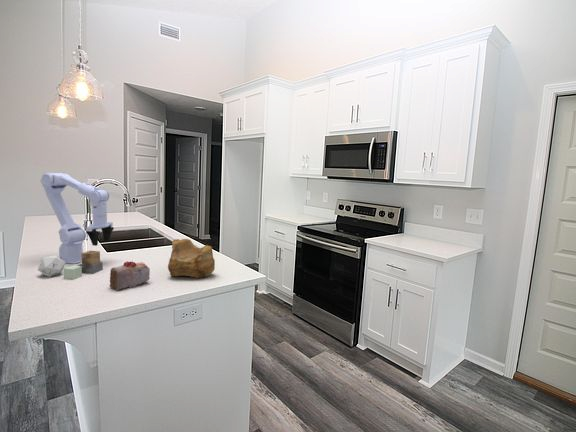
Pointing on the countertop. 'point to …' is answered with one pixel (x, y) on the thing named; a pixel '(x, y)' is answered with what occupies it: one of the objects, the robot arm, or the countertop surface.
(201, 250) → the rough brown rock
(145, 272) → the food item
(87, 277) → the countertop surface
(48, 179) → the robot arm
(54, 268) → the pale gray rock
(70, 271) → the sage cube
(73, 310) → the countertop surface
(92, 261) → the walnut cube
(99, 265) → the charcoal base block
